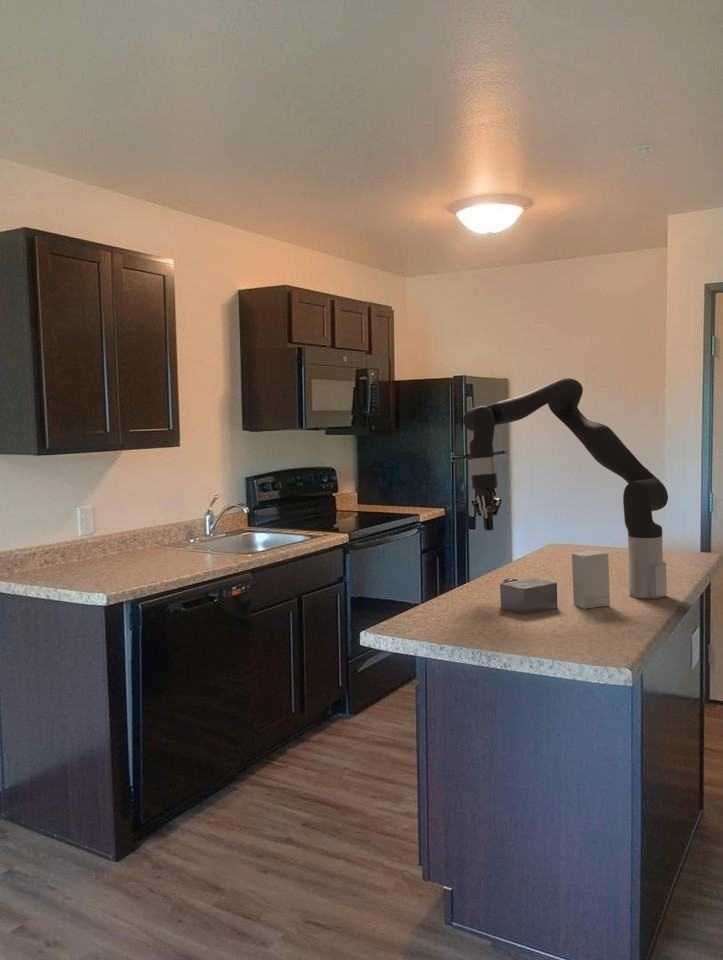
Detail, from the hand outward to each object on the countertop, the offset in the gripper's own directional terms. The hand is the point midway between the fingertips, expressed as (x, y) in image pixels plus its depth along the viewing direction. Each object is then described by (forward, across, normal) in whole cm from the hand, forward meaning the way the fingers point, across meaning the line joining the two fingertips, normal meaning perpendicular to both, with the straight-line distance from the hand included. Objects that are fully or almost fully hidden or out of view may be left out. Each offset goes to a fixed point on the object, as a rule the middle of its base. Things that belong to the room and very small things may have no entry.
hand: (489, 530), depth 235 cm
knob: (+20, +18, -4) cm, 27 cm away
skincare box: (+22, +28, +12) cm, 38 cm away
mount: (+21, +21, -3) cm, 30 cm away
